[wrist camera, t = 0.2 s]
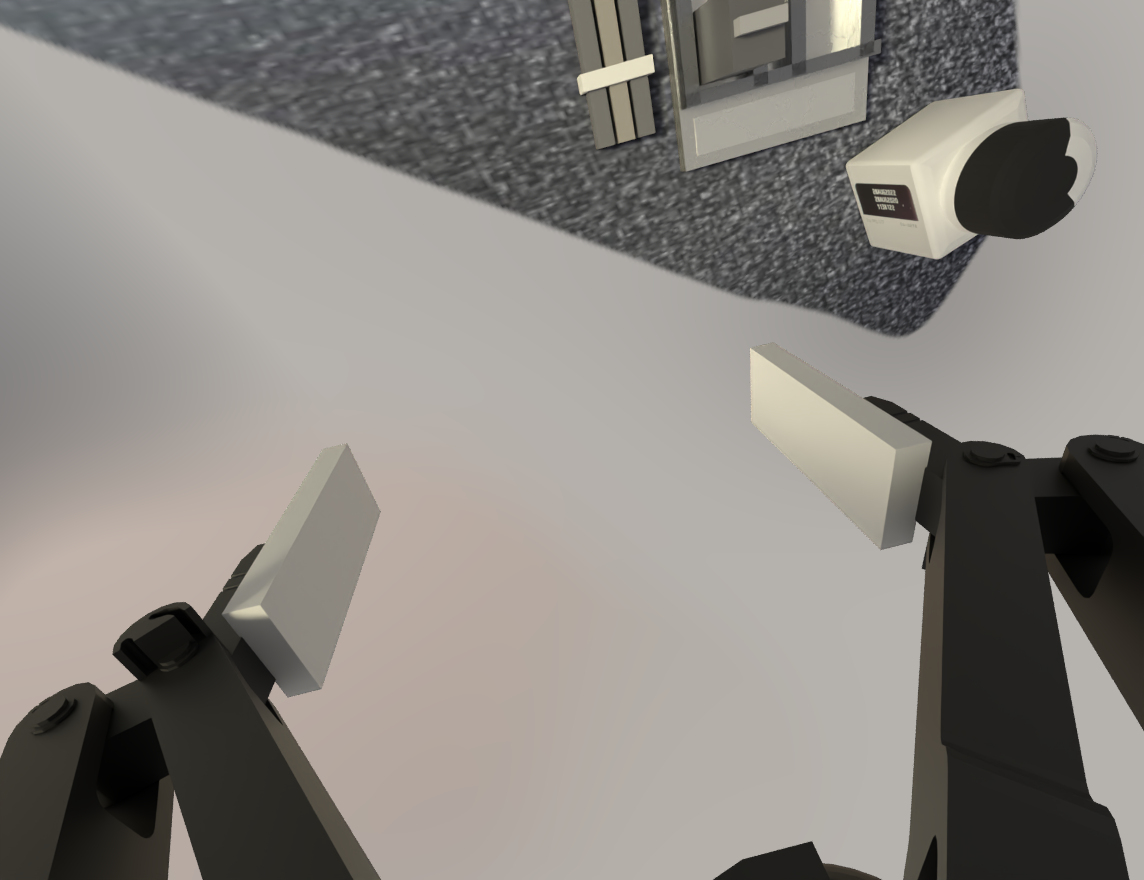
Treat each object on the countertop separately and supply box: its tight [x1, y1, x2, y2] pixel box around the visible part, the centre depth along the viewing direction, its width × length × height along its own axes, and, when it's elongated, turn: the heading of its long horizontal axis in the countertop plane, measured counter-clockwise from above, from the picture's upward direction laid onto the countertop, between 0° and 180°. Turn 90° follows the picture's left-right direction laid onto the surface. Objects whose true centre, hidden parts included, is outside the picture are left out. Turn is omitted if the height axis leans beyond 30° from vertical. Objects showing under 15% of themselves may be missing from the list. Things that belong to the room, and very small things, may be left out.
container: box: [846, 88, 1097, 259], centre depth 35 cm, size 8×8×13 cm
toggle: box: [693, 0, 788, 86], centre depth 31 cm, size 4×3×7 cm
